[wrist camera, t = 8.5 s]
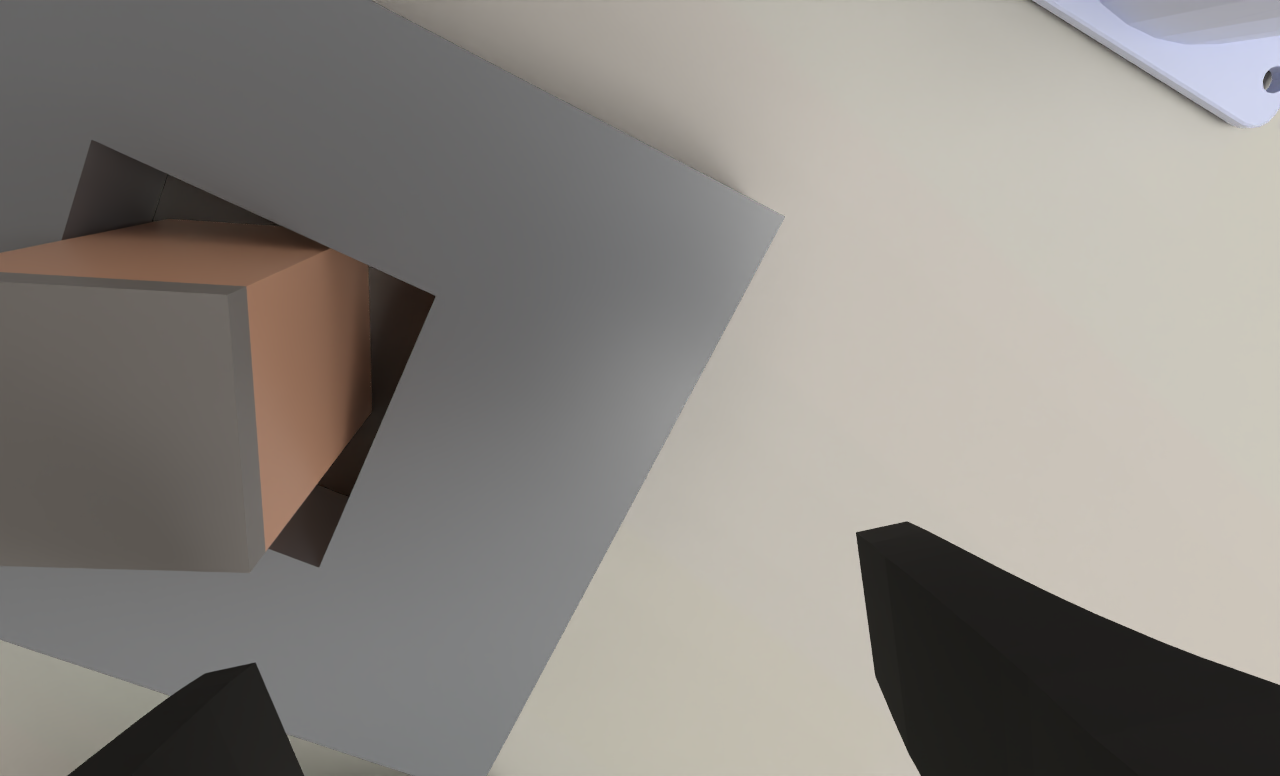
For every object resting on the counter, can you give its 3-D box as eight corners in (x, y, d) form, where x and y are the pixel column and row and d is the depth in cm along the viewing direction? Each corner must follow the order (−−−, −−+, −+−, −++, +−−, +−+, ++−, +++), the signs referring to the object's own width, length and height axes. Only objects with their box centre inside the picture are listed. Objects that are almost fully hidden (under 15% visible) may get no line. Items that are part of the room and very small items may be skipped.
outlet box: (-37, -208, 14) (-209, -303, 11) (751, 202, 17) (788, 217, 14) (-193, 462, 17) (-356, 530, 14) (490, 704, 21) (474, 803, 17)
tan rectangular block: (168, 218, 16) (-112, 275, 10) (367, 231, 17) (227, 294, 10) (186, 402, 18) (-53, 564, 11) (372, 411, 18) (249, 573, 11)
